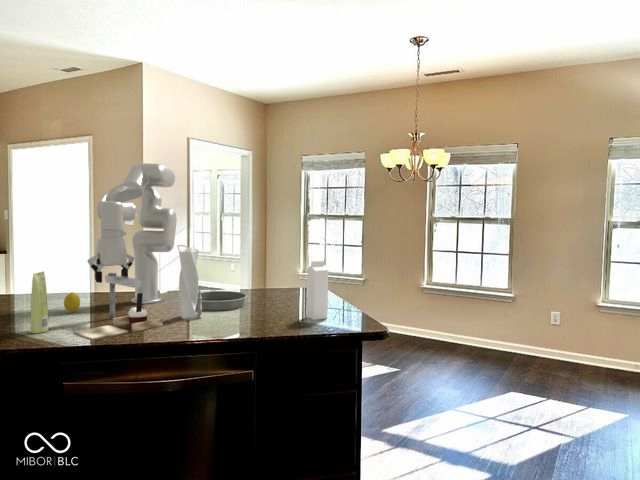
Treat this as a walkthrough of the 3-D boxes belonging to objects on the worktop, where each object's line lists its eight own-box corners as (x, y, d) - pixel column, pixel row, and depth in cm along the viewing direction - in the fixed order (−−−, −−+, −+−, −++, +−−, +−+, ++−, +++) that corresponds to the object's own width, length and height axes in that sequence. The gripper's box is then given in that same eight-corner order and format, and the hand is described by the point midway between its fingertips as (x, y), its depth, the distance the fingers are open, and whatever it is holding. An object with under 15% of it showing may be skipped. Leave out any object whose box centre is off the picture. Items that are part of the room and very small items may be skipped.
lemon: (73, 314, 176) (73, 293, 175) (60, 313, 177) (60, 293, 176) (83, 311, 181) (83, 291, 181) (71, 310, 182) (71, 290, 182)
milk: (327, 318, 176) (329, 261, 175) (313, 320, 173) (315, 262, 172) (319, 315, 182) (321, 260, 180) (306, 316, 179) (307, 260, 177)
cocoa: (132, 324, 164) (131, 290, 164) (150, 323, 165) (149, 289, 165) (124, 329, 154) (123, 294, 154) (144, 328, 155) (143, 293, 155)
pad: (109, 326, 158) (109, 325, 158) (128, 332, 151) (128, 330, 151) (73, 333, 148) (73, 331, 148) (91, 339, 141) (91, 338, 141)
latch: (105, 318, 170) (105, 272, 170) (112, 316, 173) (112, 272, 172) (134, 326, 159) (133, 277, 158) (141, 324, 161) (141, 277, 160)
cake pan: (177, 308, 192) (177, 297, 192) (211, 298, 215) (212, 289, 215) (226, 313, 183) (227, 302, 183) (257, 303, 206) (257, 293, 205)
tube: (27, 331, 150) (26, 272, 149) (44, 328, 153) (44, 270, 152) (34, 334, 146) (33, 273, 145) (51, 331, 150) (50, 272, 149)
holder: (141, 320, 168) (141, 313, 168) (162, 325, 160) (162, 318, 160) (112, 325, 159) (112, 318, 159) (133, 331, 152) (133, 324, 151)
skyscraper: (179, 321, 169) (179, 245, 168) (175, 316, 176) (175, 244, 175) (202, 319, 173) (202, 245, 171) (197, 314, 180) (198, 244, 179)
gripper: (128, 234, 178) (128, 278, 178) (83, 234, 164) (83, 282, 164) (139, 234, 173) (139, 280, 174) (93, 235, 159) (93, 284, 160)
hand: (111, 281), depth 169 cm, fingers open, 9 cm apart
